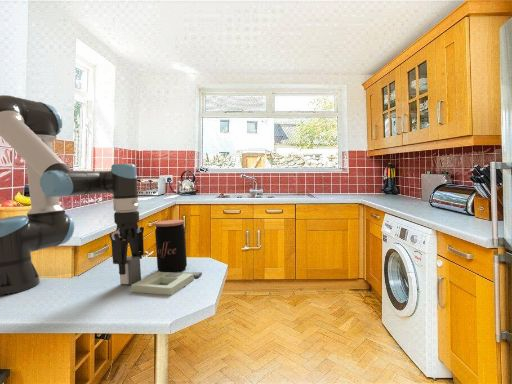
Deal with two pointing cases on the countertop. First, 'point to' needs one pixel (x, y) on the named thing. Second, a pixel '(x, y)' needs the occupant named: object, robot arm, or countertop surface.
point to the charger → (133, 269)
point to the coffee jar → (170, 246)
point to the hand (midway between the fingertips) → (130, 280)
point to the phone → (195, 274)
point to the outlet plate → (153, 281)
